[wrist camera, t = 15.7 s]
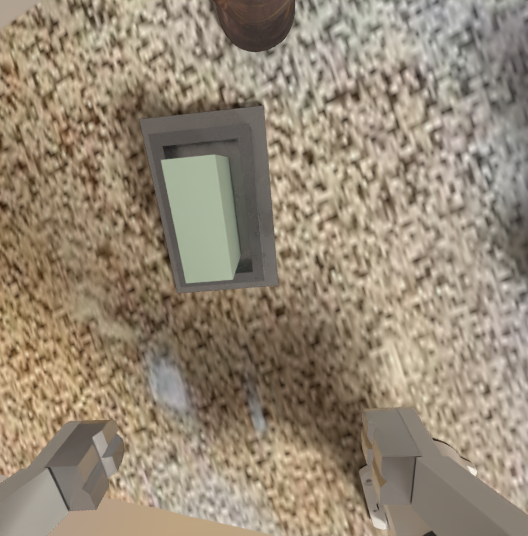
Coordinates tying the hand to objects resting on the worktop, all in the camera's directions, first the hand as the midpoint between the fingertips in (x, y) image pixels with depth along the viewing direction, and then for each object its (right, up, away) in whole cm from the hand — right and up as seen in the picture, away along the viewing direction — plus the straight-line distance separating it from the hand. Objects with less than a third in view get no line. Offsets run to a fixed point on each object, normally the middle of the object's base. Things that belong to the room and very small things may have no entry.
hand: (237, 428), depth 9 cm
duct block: (-5, +12, +23) cm, 26 cm away
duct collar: (-5, +12, +24) cm, 27 cm away
